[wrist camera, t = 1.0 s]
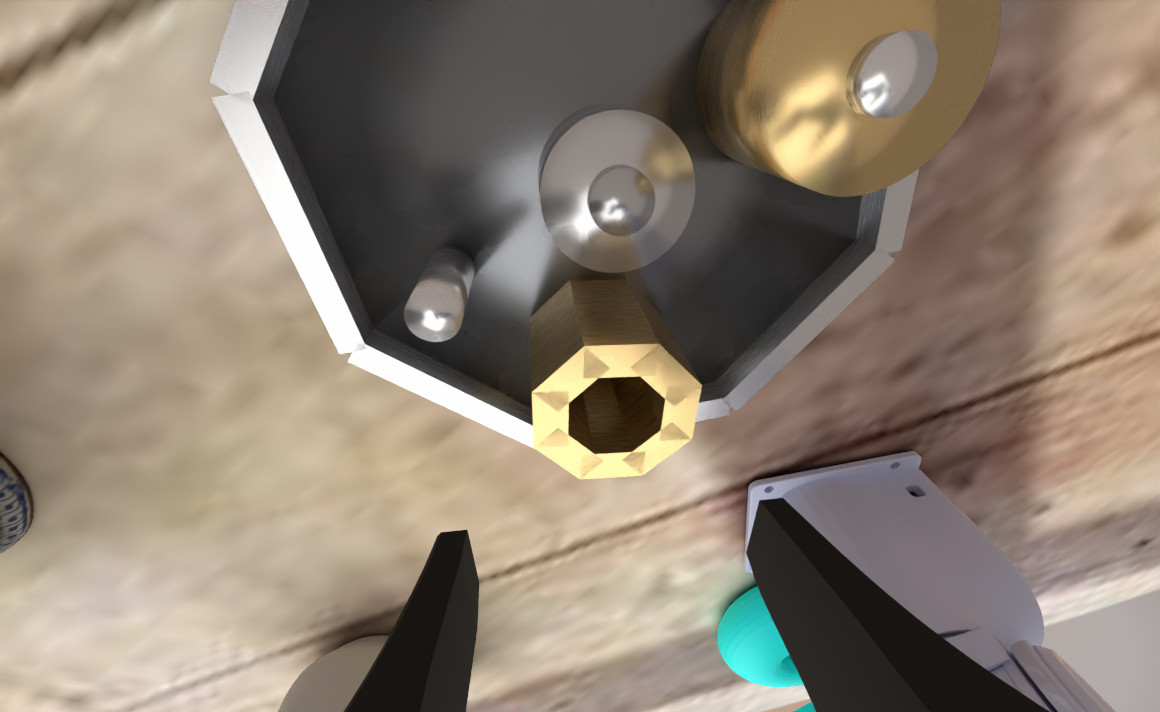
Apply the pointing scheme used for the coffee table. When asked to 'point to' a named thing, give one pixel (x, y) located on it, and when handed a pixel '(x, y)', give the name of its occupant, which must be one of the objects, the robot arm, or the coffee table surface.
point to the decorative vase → (13, 505)
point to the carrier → (591, 169)
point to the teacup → (333, 677)
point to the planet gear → (608, 381)
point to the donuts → (756, 645)
